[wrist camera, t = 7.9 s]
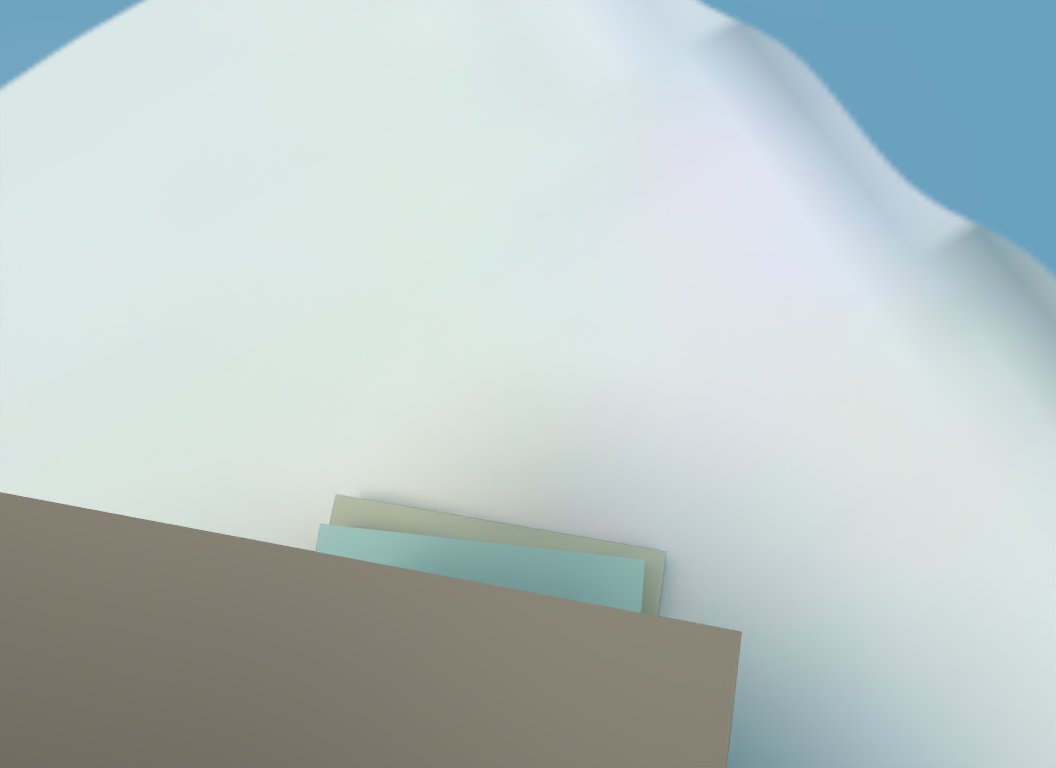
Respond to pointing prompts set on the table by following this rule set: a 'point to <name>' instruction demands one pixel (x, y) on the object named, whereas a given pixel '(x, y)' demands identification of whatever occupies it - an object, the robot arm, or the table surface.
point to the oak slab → (494, 536)
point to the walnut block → (326, 660)
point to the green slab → (497, 564)
